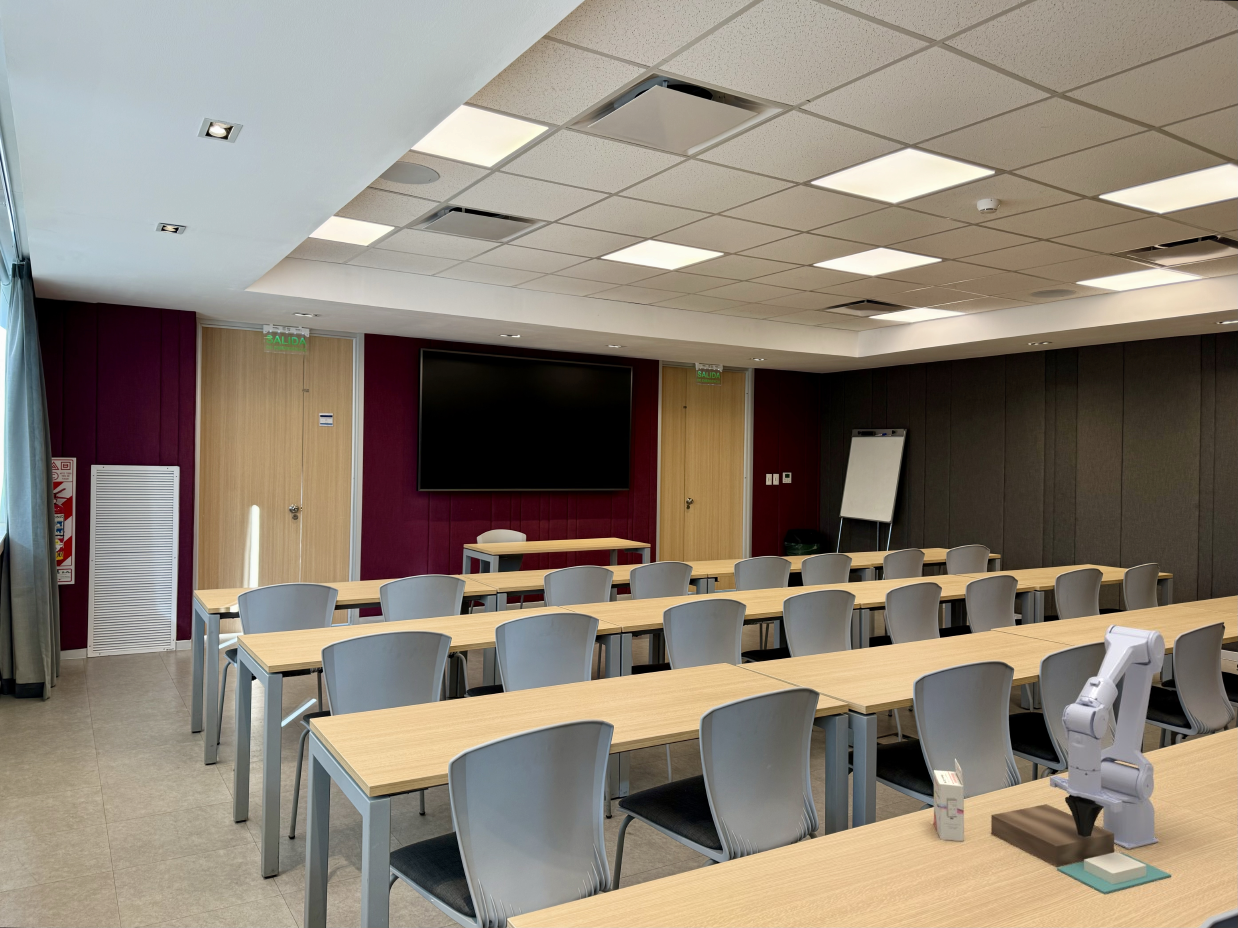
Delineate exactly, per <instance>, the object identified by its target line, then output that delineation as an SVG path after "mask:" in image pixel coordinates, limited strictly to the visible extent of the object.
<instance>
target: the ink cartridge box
mask: <svg viewBox="0 0 1238 928" xmlns="http://www.w3.org/2000/svg"><path fill="white" fill-rule="evenodd" d="M954 766H955V767H954V768H955V771H949V770H935V769H934V770H933V824H934V827H935V829H936V831H937V834H938V836H939V839H940V840H941V841H942V840H943V841H945V840H946V841H956V842H964V841H965V820H964V819H965V817H964V815H965V813H964V812H965V809H964V808H965V805H964V804H965V800H964V799H965V798H964V796H965V795H964V792H965V791H964V790H965V789H964V787H965V786H964V777H963V770H962V768H961V766H960V764H959V762H958V760H957V759H956V758H954Z"/></svg>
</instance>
